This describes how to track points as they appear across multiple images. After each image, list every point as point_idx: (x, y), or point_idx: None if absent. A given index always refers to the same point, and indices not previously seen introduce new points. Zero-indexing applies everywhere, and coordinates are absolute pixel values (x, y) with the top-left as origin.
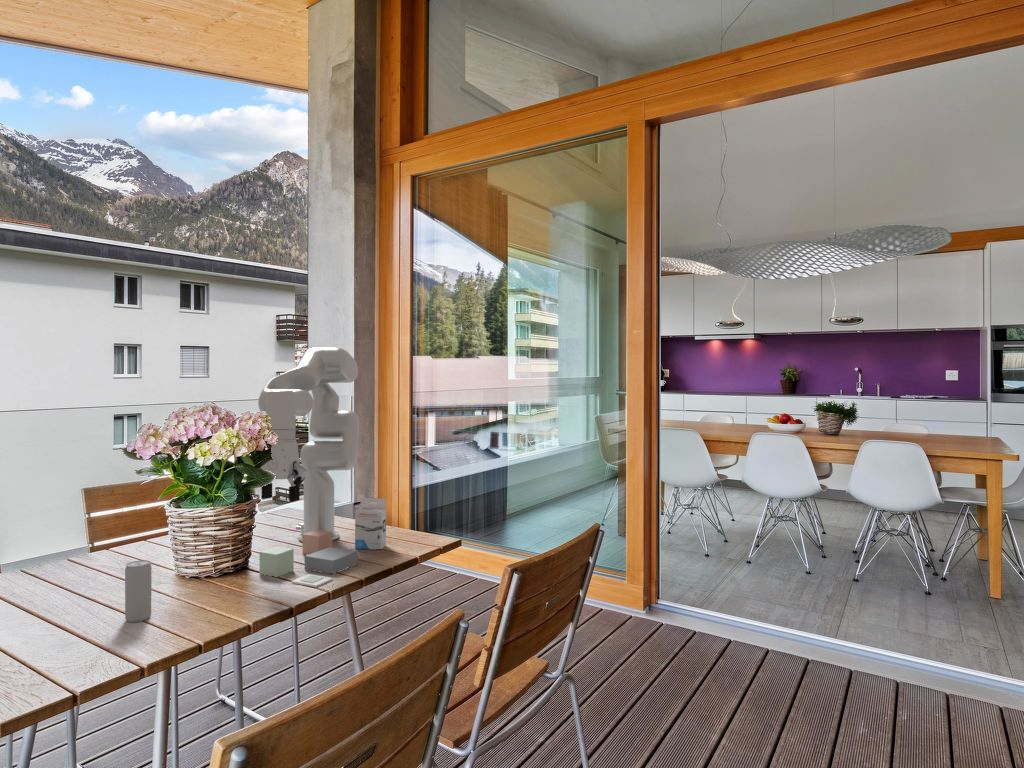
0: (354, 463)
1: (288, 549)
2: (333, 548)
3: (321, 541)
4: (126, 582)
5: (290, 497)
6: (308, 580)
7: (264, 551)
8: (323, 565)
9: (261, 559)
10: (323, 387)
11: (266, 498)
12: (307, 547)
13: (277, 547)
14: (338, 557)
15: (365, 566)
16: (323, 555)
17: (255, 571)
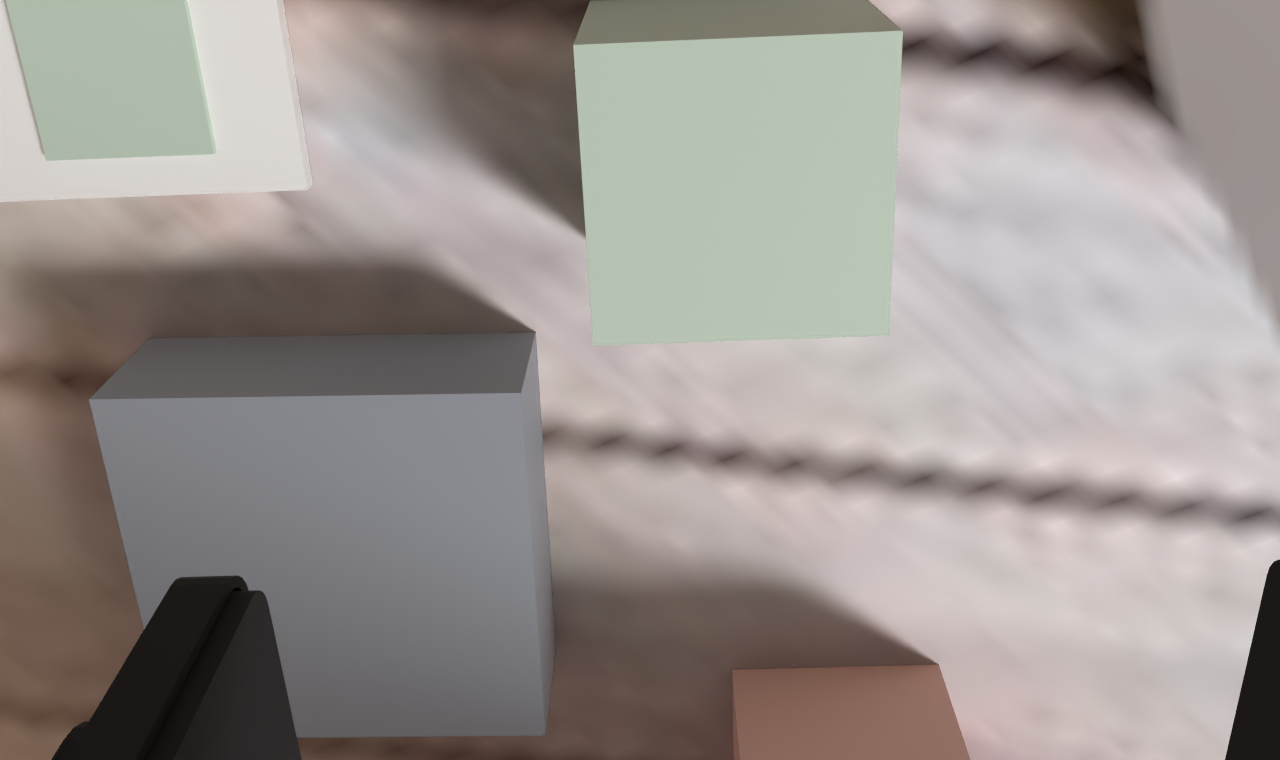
0: None
1: (627, 295)
2: (463, 706)
3: None
4: None
5: (138, 642)
6: (95, 9)
7: (855, 82)
8: (254, 365)
9: (848, 15)
10: None
11: (1266, 642)
12: (887, 717)
13: (839, 302)
14: (141, 503)
15: (93, 626)
16: (347, 491)
17: (979, 43)
